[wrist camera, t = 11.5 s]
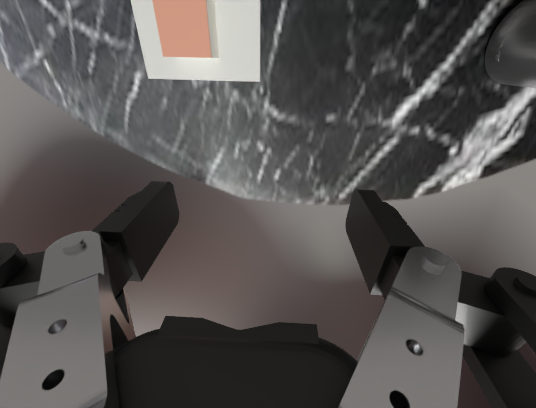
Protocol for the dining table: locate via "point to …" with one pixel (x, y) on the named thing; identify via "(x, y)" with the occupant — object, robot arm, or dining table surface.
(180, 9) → the card box
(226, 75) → the mat
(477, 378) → the robot arm
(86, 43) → the dining table surface
